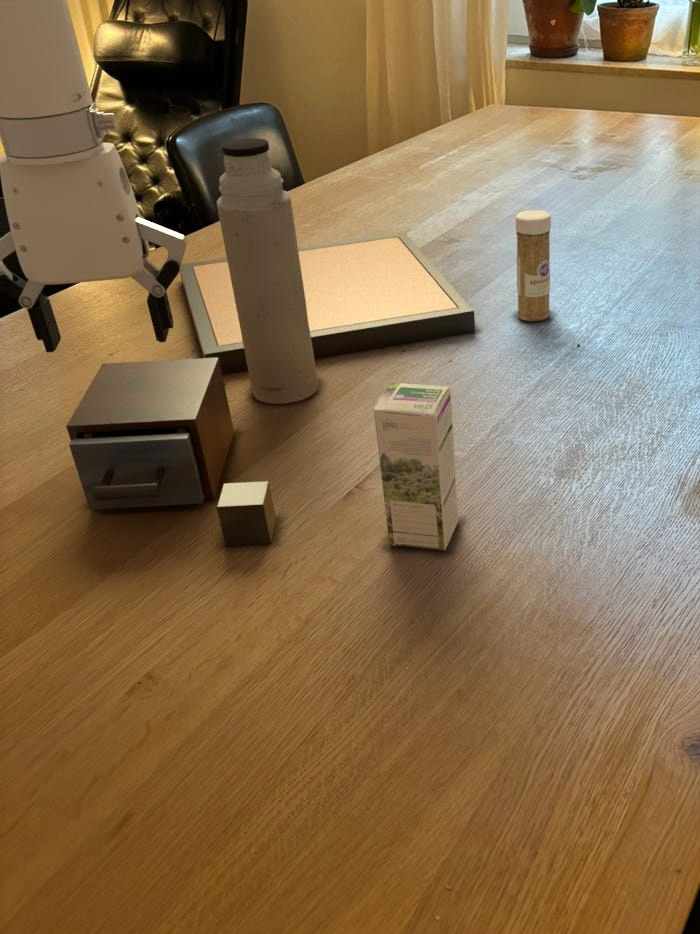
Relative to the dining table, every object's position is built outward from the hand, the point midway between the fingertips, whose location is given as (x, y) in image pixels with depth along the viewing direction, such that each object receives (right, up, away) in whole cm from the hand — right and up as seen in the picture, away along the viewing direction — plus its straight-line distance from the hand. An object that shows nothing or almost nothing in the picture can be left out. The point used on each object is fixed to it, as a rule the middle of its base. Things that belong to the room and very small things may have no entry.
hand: (109, 341), depth 92 cm
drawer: (-1, -11, +15) cm, 18 cm away
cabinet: (-1, -8, +19) cm, 21 cm away
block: (+11, -16, +9) cm, 21 cm away
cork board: (+10, +21, +55) cm, 59 cm away
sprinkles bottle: (+41, +17, +49) cm, 66 cm away
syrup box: (+28, -17, +7) cm, 33 cm away
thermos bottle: (+10, +4, +34) cm, 35 cm away
